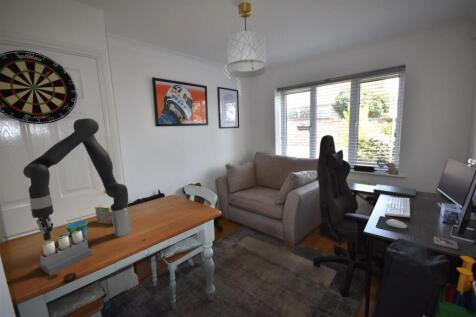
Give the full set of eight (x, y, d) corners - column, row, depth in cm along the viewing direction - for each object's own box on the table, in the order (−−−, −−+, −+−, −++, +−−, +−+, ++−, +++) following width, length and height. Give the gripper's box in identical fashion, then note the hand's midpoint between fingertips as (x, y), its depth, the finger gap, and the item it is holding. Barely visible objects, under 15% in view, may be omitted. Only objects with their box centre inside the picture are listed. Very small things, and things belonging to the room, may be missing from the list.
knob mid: (67, 245, 111) (66, 234, 111) (71, 247, 109) (69, 236, 108) (58, 249, 108) (56, 238, 107) (61, 251, 106) (59, 240, 105)
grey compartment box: (81, 249, 120) (79, 236, 119) (91, 254, 114) (89, 241, 113) (39, 267, 105) (37, 253, 104) (49, 275, 99) (47, 260, 98)
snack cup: (75, 234, 138) (73, 219, 136) (93, 232, 140) (91, 217, 139) (62, 247, 123) (59, 231, 121) (83, 244, 125) (80, 228, 124)
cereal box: (127, 221, 156) (125, 205, 154) (121, 224, 150) (119, 208, 148) (104, 219, 161) (102, 203, 159) (96, 222, 155) (94, 206, 153)
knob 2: (80, 240, 117) (79, 229, 116) (84, 242, 114) (83, 231, 114) (71, 243, 113) (70, 233, 112) (75, 245, 111) (73, 234, 110)
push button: (76, 244, 125) (74, 229, 123) (77, 248, 121) (75, 232, 120) (62, 249, 120) (59, 233, 119) (62, 253, 117) (60, 236, 115)
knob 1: (53, 251, 106) (51, 239, 105) (57, 253, 104) (55, 241, 103) (43, 255, 103) (40, 244, 102) (46, 258, 101) (44, 246, 100)
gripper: (57, 205, 100) (62, 239, 102) (46, 201, 106) (51, 233, 109) (36, 210, 93) (42, 247, 96) (26, 205, 100) (32, 240, 102)
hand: (47, 239), depth 102 cm, fingers closed
